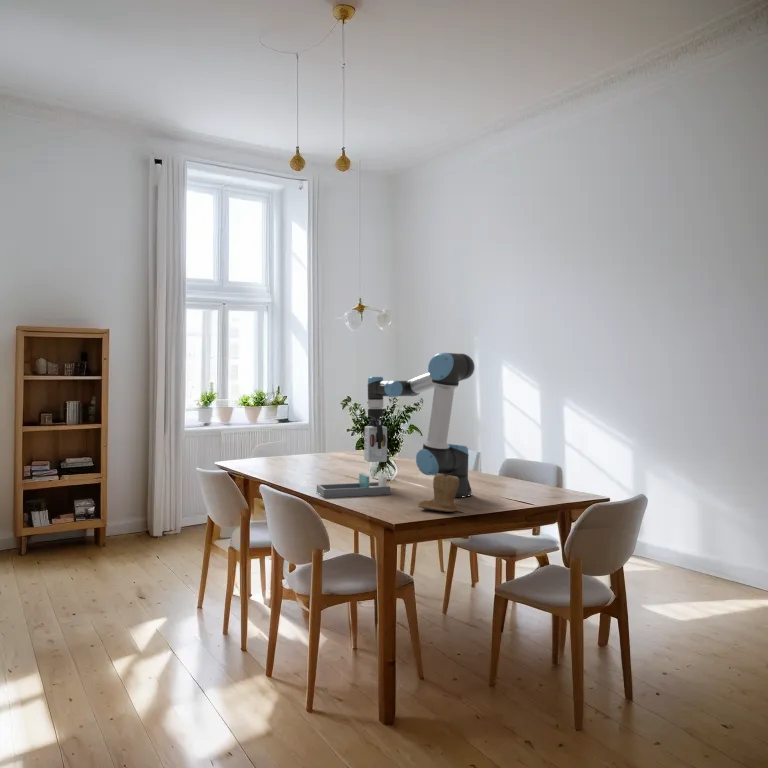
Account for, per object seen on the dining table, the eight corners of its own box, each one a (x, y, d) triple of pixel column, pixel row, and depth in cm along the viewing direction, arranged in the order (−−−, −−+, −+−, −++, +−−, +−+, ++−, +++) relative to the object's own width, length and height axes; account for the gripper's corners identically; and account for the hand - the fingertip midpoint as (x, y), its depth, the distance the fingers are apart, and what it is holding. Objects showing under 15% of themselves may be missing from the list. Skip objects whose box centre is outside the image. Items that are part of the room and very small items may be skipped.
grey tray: (390, 494, 309) (390, 486, 309) (323, 497, 299) (323, 489, 299) (380, 489, 322) (380, 482, 322) (316, 492, 312) (316, 484, 312)
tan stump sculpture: (464, 510, 276) (465, 473, 275) (450, 515, 266) (451, 477, 265) (431, 506, 284) (432, 470, 284) (417, 510, 274) (417, 473, 274)
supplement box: (368, 462, 325) (368, 427, 325) (363, 460, 334) (363, 425, 333) (387, 461, 327) (387, 426, 327) (382, 459, 336) (382, 425, 336)
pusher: (388, 491, 311) (388, 475, 310) (365, 492, 307) (366, 476, 307) (380, 487, 321) (380, 472, 320) (359, 488, 317) (359, 473, 317)
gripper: (361, 407, 339) (361, 452, 340) (375, 409, 319) (375, 457, 319) (375, 407, 342) (375, 452, 342) (390, 409, 321) (390, 456, 321)
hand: (375, 454), depth 330 cm, fingers closed on supplement box, 9 cm apart
